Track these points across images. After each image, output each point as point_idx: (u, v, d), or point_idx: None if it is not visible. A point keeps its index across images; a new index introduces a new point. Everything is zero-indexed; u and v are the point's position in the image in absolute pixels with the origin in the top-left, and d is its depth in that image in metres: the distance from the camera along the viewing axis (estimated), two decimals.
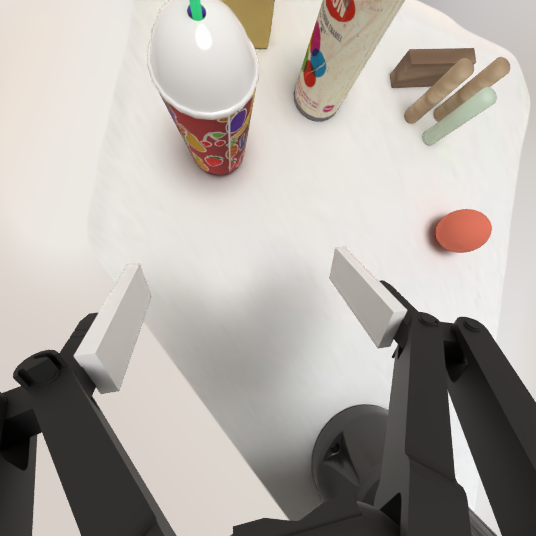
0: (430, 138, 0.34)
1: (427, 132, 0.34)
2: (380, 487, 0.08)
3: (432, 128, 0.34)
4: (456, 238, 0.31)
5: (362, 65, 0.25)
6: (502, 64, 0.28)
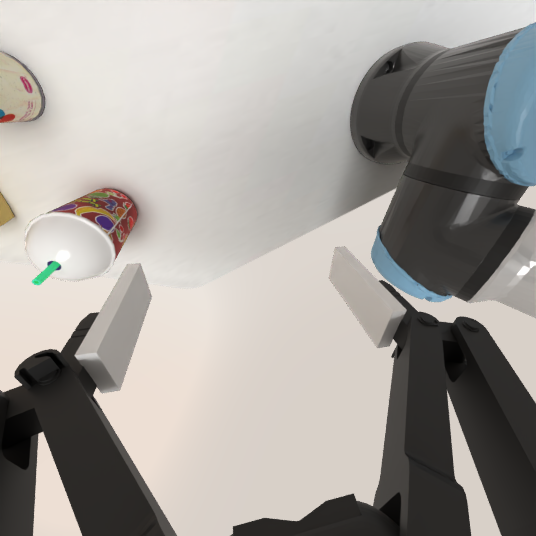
0: None
1: None
2: (380, 487, 0.08)
3: None
4: None
5: None
6: None
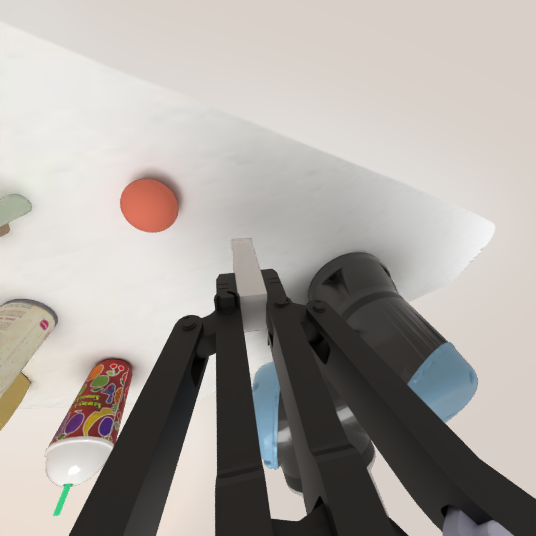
0: (23, 213, 0.27)
1: None
2: (303, 487, 0.08)
3: None
4: (161, 230, 0.27)
5: (3, 353, 0.28)
6: None
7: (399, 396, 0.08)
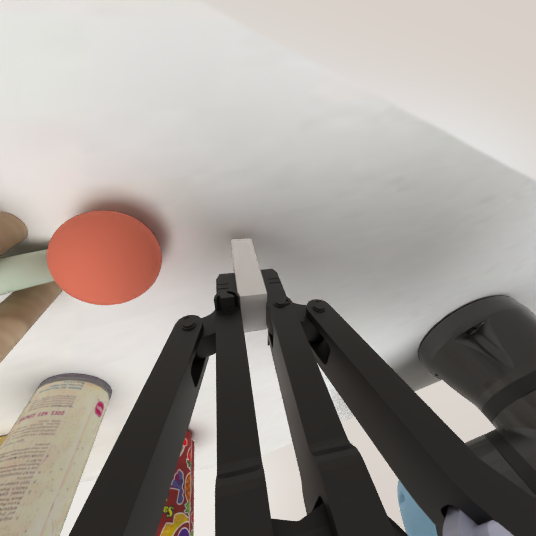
0: (51, 280, 0.16)
1: None
2: (304, 487, 0.08)
3: None
4: None
5: (55, 478, 0.18)
6: None
7: (399, 396, 0.08)
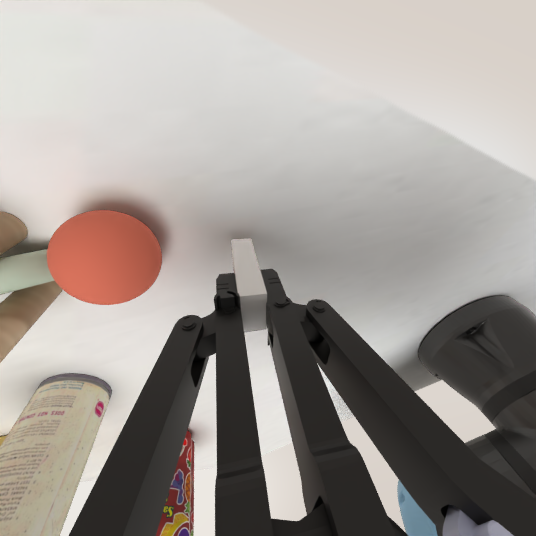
0: (51, 280, 0.16)
1: None
2: (304, 487, 0.08)
3: None
4: None
5: (55, 478, 0.18)
6: None
7: (399, 396, 0.08)
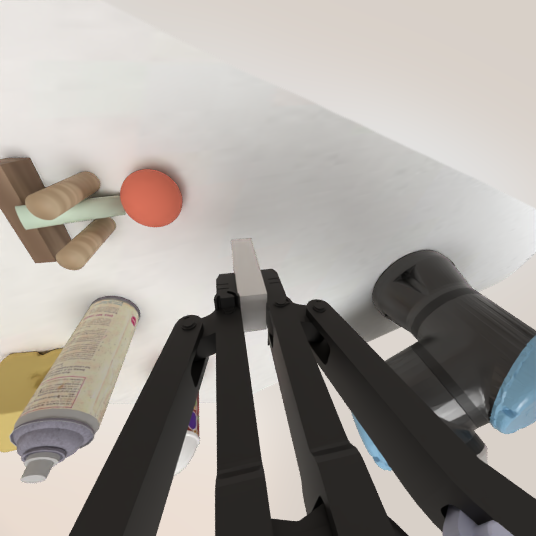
0: (114, 215, 0.26)
1: None
2: (304, 487, 0.08)
3: None
4: None
5: (112, 348, 0.29)
6: (39, 206, 0.19)
7: (399, 396, 0.08)
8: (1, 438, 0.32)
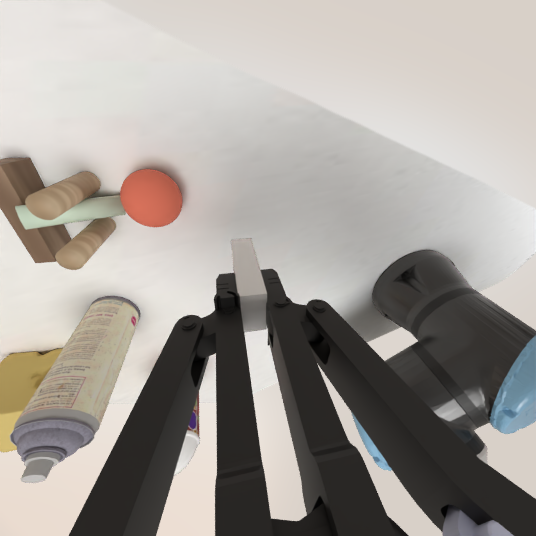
0: (114, 215, 0.26)
1: None
2: (304, 487, 0.08)
3: None
4: None
5: (112, 348, 0.29)
6: (39, 206, 0.19)
7: (399, 396, 0.08)
8: (1, 438, 0.32)
